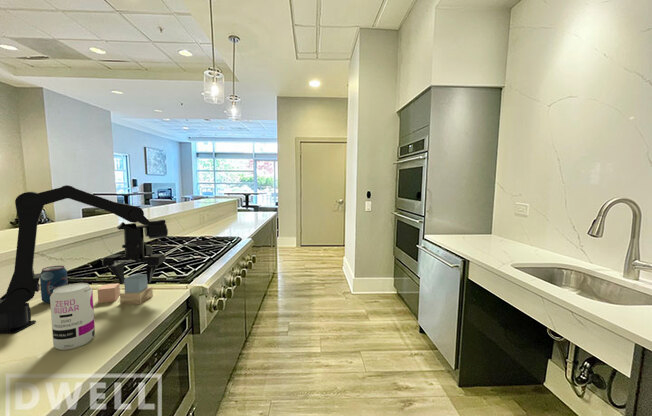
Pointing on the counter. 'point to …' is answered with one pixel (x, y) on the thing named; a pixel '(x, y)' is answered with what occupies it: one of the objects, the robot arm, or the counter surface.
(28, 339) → the counter surface
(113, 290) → the terracotta cube
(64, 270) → the soda can
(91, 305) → the supplement can
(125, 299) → the oak block
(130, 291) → the slate cube
